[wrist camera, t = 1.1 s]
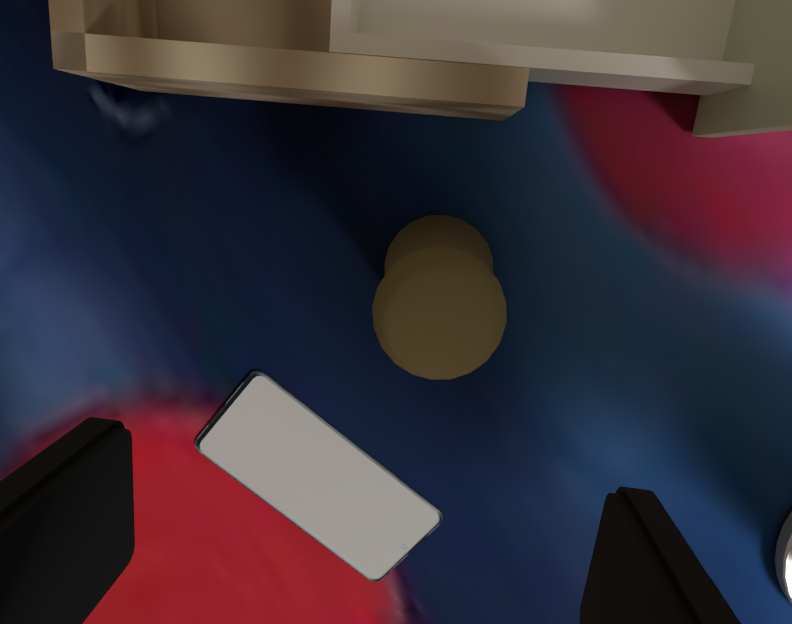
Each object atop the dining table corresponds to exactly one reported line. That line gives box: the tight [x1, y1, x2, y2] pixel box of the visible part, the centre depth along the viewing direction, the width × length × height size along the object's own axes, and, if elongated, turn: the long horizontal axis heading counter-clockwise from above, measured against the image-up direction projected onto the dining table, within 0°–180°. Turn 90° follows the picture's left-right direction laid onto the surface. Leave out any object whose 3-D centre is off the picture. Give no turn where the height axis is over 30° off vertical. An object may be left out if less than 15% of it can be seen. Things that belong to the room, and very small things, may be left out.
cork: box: [372, 215, 507, 380], centre depth 25 cm, size 6×6×11 cm
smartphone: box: [195, 371, 442, 581], centre depth 35 cm, size 7×1×15 cm
